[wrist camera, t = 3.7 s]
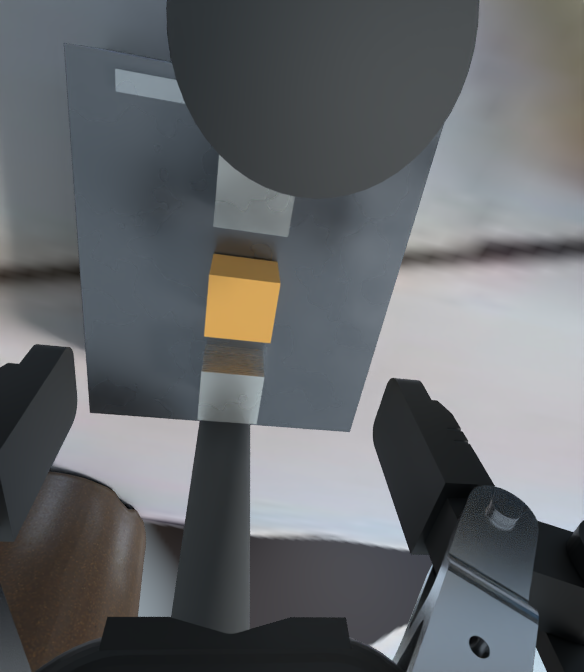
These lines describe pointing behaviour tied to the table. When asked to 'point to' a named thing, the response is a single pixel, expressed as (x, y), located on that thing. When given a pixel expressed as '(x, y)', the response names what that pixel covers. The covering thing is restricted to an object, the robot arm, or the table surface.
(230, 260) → the orange matte cube
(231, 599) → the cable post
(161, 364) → the grey block holder
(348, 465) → the table surface
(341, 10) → the cable post
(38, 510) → the plant pot
